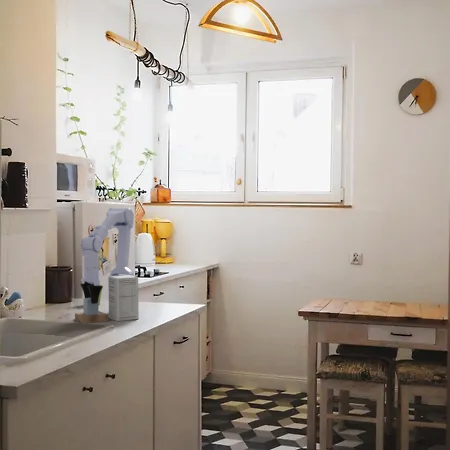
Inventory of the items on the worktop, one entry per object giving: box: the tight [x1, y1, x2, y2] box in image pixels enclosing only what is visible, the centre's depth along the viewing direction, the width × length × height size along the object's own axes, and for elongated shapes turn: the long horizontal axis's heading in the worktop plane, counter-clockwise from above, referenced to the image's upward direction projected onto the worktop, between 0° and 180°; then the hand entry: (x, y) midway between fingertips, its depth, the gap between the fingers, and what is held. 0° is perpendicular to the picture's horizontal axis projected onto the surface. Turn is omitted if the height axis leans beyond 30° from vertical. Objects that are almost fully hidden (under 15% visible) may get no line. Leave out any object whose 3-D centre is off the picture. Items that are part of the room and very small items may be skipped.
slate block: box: [83, 297, 100, 315], centre depth 244 cm, size 4×4×6 cm
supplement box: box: [107, 274, 140, 322], centre depth 248 cm, size 10×9×17 cm
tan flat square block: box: [74, 310, 109, 324], centre depth 244 cm, size 10×10×3 cm
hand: (91, 302), depth 244 cm, fingers open, 7 cm apart
